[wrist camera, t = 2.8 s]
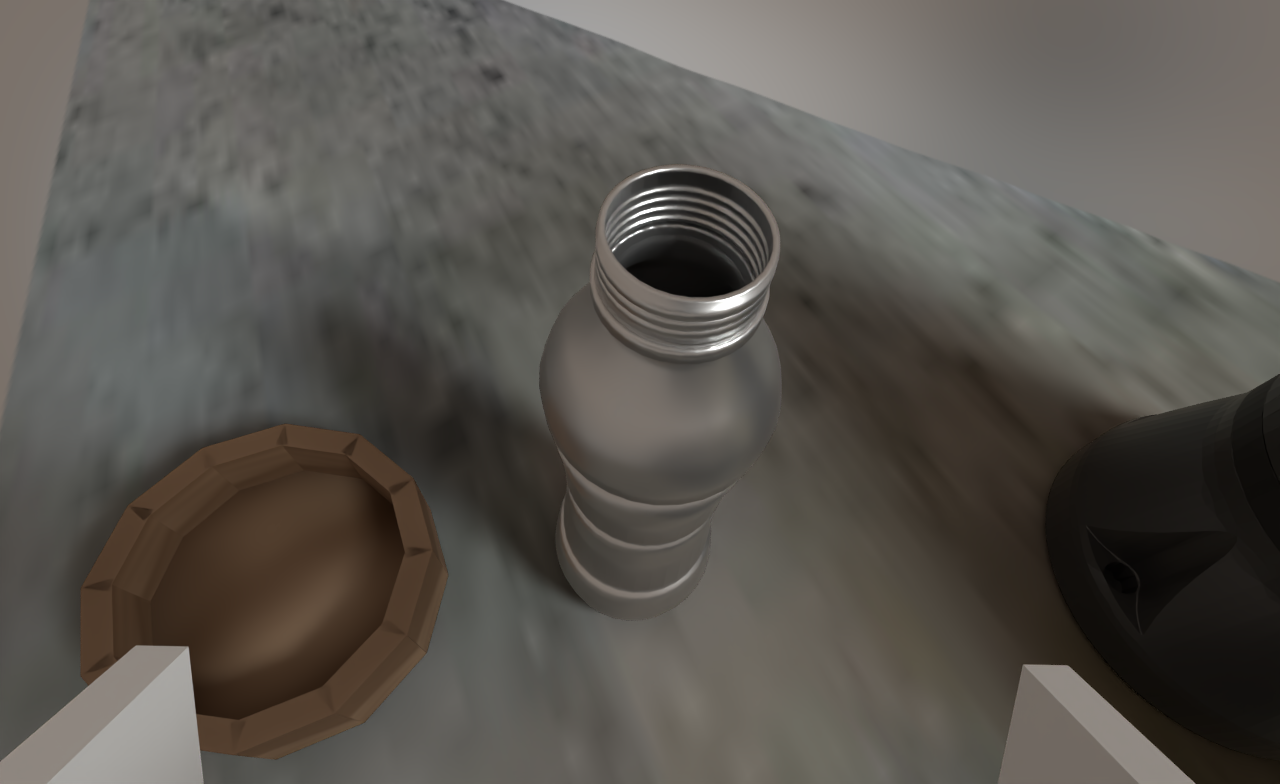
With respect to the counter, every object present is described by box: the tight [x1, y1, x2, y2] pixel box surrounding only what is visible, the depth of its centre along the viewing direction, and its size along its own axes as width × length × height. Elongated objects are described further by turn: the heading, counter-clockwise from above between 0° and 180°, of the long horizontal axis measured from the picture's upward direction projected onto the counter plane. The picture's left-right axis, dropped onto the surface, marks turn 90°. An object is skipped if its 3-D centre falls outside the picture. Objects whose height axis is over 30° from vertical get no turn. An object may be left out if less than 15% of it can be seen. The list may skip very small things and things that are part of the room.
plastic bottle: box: [539, 164, 782, 621], centre depth 21 cm, size 6×7×20 cm
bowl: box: [81, 424, 448, 759], centre depth 26 cm, size 12×12×4 cm
